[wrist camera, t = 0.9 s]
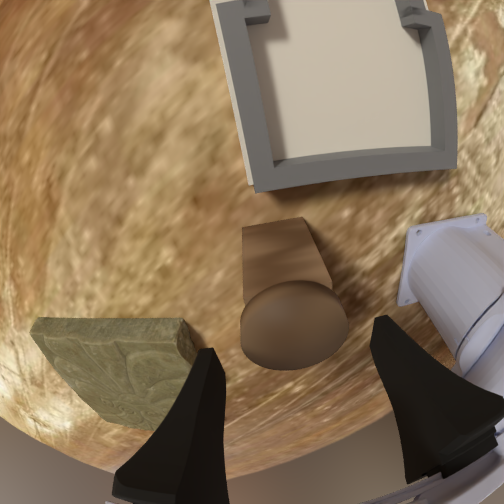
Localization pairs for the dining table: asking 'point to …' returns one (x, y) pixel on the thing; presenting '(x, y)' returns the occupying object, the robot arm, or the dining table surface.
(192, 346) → the olive stone flat slab
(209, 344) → the dining table surface
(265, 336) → the walnut peg
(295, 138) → the grey flat framed piece
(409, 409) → the robot arm
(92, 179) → the dining table surface
